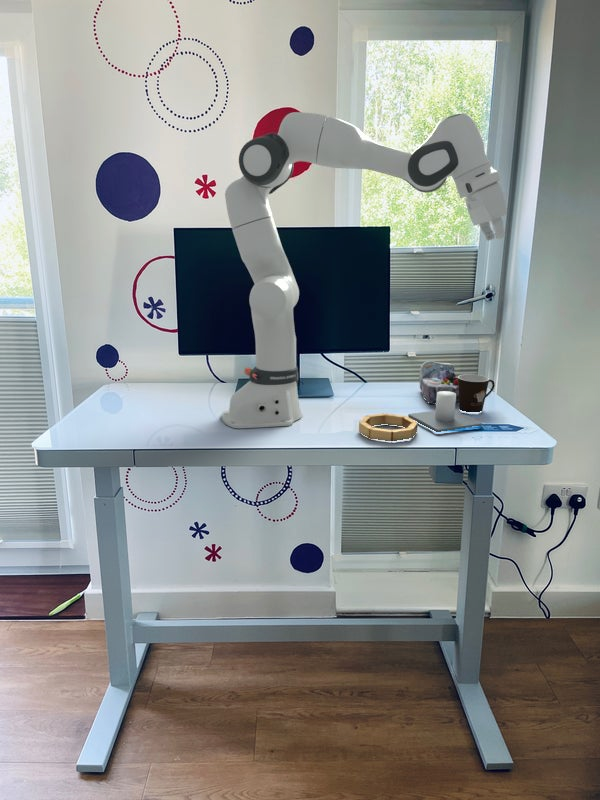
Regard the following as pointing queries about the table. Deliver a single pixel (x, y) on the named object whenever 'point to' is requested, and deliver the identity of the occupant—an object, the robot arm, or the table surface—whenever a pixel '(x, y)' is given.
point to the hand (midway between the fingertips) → (496, 238)
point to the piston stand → (444, 415)
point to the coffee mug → (473, 392)
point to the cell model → (437, 380)
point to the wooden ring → (389, 419)
